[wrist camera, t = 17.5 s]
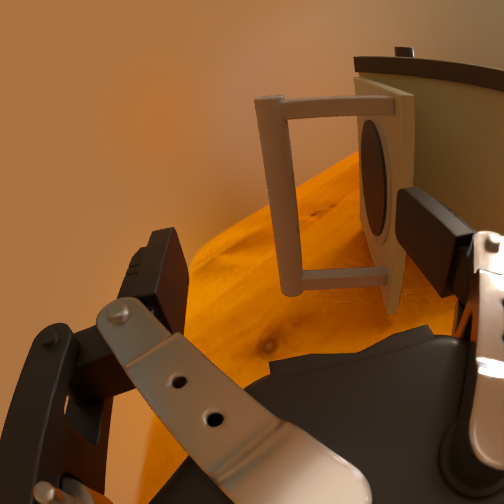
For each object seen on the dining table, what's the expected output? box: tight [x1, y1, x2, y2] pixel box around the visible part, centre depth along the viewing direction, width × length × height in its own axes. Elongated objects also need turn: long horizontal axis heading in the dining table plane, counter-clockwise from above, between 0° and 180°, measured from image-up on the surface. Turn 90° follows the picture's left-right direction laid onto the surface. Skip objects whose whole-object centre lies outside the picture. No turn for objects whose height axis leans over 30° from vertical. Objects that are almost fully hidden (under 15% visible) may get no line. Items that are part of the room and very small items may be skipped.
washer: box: [354, 47, 504, 237], centre depth 25 cm, size 16×16×19 cm
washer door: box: [254, 77, 415, 314], centre depth 23 cm, size 14×8×14 cm, turn 173°
